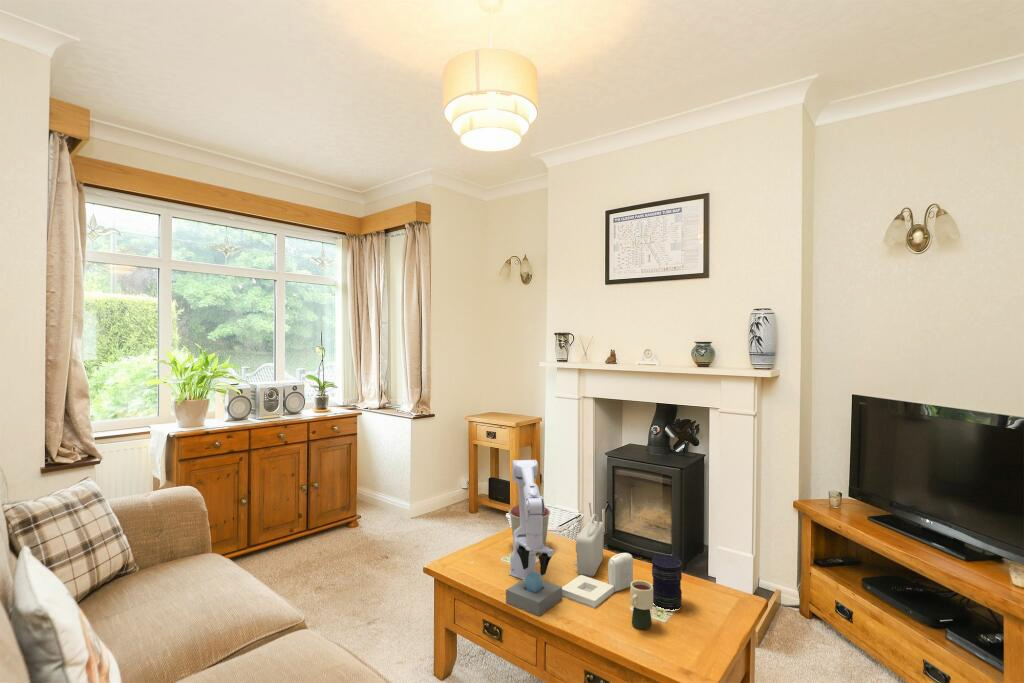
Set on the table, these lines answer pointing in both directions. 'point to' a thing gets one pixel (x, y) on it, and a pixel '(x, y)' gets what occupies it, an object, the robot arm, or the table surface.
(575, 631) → the table surface
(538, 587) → the plug
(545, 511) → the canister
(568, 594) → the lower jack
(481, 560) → the table surface
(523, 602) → the grey square socket block
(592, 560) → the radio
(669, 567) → the storage jar
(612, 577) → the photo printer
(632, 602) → the character mug
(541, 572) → the robot arm
